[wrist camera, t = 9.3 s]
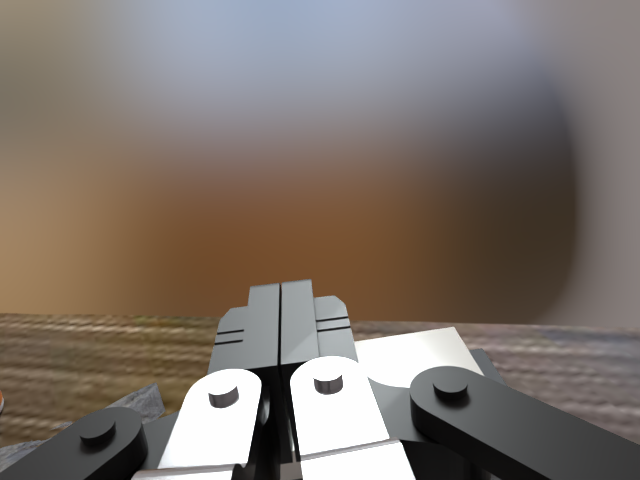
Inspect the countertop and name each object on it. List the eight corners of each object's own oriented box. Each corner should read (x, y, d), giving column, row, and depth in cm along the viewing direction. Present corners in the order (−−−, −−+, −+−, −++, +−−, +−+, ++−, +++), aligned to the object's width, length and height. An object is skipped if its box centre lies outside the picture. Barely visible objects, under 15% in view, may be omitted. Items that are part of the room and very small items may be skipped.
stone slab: (154, 376, 40) (181, 445, 31) (160, 395, 40) (189, 469, 32) (-127, 488, 33) (-194, 618, 24) (-115, 510, 33) (-175, 645, 25)
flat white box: (218, 460, 28) (236, 358, 37) (227, 491, 28) (242, 383, 38) (509, 415, 28) (453, 325, 37) (510, 448, 28) (455, 351, 38)
